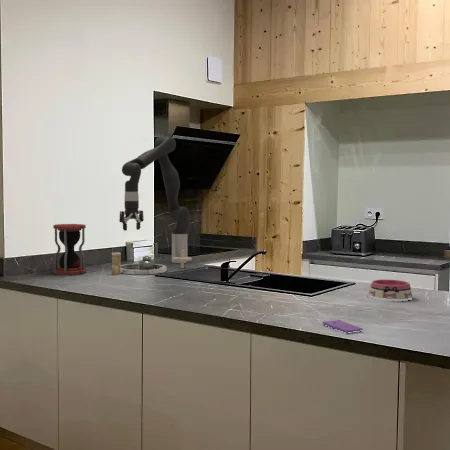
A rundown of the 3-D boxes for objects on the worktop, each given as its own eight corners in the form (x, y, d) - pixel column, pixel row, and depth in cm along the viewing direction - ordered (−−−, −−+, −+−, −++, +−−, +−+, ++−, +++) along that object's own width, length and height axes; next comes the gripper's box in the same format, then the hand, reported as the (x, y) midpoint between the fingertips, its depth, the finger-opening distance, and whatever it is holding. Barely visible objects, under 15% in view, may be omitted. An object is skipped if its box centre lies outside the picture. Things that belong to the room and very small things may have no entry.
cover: (144, 268, 316) (144, 254, 315) (156, 269, 312) (156, 255, 312) (136, 270, 308) (136, 256, 308) (149, 271, 305) (149, 257, 305)
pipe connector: (190, 269, 314) (190, 251, 313) (172, 269, 314) (172, 251, 313) (191, 266, 324) (192, 249, 323) (174, 266, 324) (174, 249, 323)
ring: (128, 265, 324) (128, 251, 324) (174, 269, 313) (174, 254, 312) (101, 271, 300) (101, 256, 300) (150, 275, 289) (150, 260, 288)
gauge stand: (114, 273, 297) (114, 252, 296) (122, 274, 295) (122, 252, 294) (110, 274, 293) (110, 253, 292) (117, 275, 291) (117, 253, 290)
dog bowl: (366, 300, 236) (367, 284, 235) (368, 292, 253) (368, 277, 253) (413, 303, 231) (414, 287, 230) (411, 295, 249) (412, 279, 248)
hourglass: (80, 275, 289) (80, 226, 287) (49, 274, 289) (48, 225, 287) (89, 270, 305) (89, 223, 303) (59, 270, 305) (59, 223, 303)
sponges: (338, 324, 195) (339, 319, 195) (363, 333, 184) (363, 327, 184) (322, 326, 192) (322, 321, 192) (345, 335, 181) (346, 329, 181)
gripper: (138, 199, 316) (138, 228, 318) (116, 200, 306) (116, 230, 307) (146, 200, 311) (146, 229, 312) (124, 200, 301) (124, 231, 302)
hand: (131, 230), depth 310 cm, fingers open, 8 cm apart
